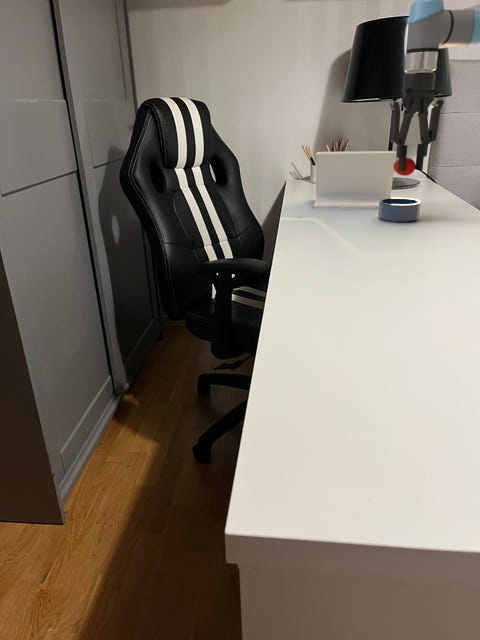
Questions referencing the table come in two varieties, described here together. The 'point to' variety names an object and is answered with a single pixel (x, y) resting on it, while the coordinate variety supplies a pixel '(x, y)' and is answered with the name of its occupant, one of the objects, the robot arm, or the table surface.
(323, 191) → the tablet stand
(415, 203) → the bowl
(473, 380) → the table surface
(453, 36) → the robot arm
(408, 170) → the strawberry
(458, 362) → the table surface
